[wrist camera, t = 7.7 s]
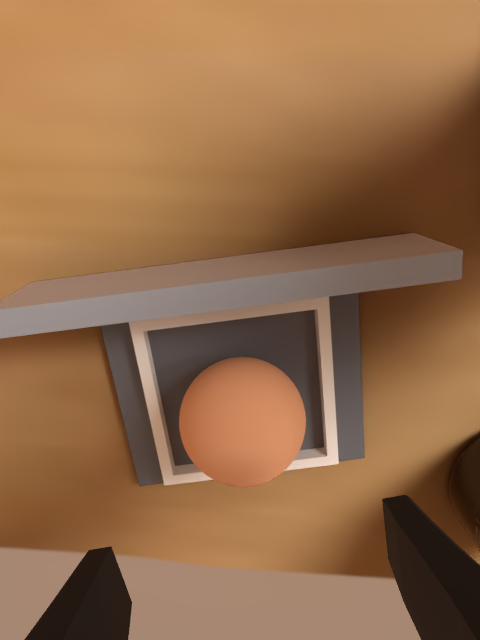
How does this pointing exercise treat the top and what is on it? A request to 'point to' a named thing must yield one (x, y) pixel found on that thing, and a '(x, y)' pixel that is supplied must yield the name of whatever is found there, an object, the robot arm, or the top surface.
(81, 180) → the top surface
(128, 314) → the grey wall
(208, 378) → the coral ball
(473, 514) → the supplement bottle
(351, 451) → the mat
